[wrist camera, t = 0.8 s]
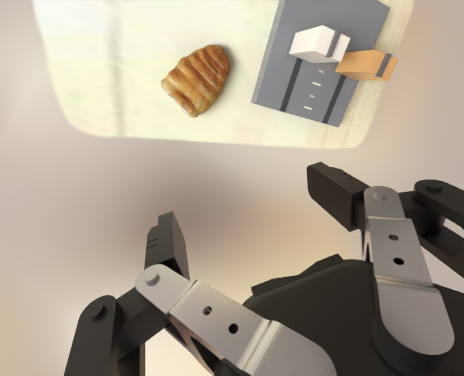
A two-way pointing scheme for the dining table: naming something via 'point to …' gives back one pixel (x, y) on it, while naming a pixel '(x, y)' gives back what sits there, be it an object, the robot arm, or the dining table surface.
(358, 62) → the orange fader
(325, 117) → the console
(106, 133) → the dining table surface
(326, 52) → the cream fader
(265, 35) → the dining table surface
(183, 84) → the pastry
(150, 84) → the dining table surface
